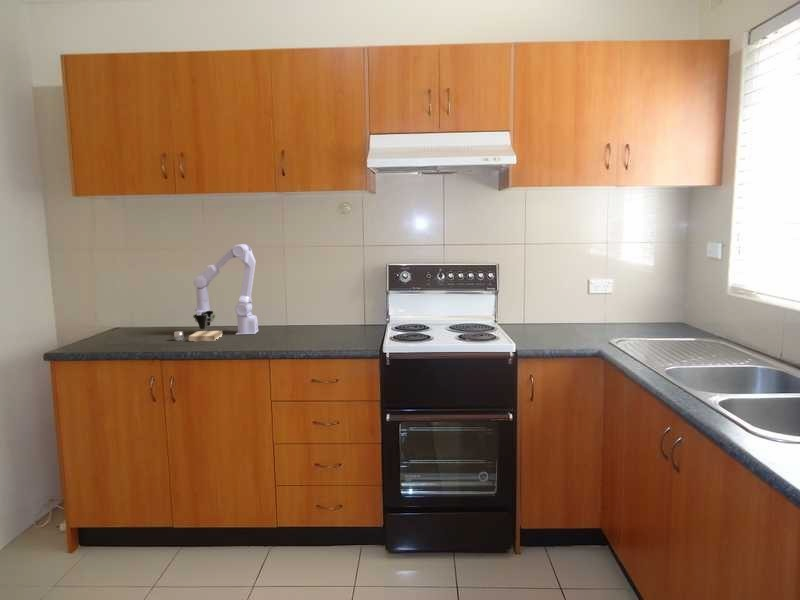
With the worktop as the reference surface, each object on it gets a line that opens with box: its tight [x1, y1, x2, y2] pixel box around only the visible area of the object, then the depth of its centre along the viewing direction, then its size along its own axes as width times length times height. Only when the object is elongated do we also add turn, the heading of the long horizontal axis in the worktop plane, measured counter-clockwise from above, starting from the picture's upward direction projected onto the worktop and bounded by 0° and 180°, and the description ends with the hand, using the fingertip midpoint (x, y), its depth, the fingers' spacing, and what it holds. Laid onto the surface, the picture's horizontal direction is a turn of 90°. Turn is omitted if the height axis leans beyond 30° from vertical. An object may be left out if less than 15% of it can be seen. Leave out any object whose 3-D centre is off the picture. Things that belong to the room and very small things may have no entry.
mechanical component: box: [192, 313, 216, 331], centre depth 271 cm, size 3×10×10 cm, turn 89°
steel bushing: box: [173, 330, 185, 342], centre depth 259 cm, size 4×4×4 cm
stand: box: [188, 330, 223, 342], centre depth 261 cm, size 12×12×2 cm
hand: (205, 327), depth 272 cm, fingers open, 7 cm apart
